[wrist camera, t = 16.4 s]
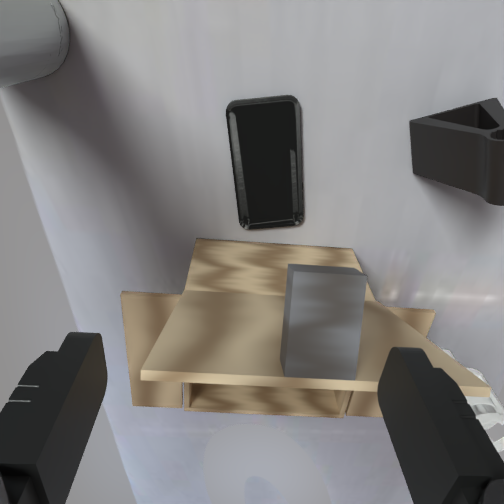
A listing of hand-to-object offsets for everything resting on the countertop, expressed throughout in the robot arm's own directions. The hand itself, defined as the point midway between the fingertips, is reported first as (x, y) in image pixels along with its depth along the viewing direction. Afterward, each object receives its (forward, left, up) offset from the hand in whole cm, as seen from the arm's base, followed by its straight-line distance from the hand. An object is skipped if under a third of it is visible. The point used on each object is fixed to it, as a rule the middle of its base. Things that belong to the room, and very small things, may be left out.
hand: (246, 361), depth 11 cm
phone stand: (+23, -1, -36) cm, 43 cm away
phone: (+3, -6, -36) cm, 37 cm away
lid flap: (+5, -13, -15) cm, 20 cm away
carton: (+5, -25, -36) cm, 44 cm away
